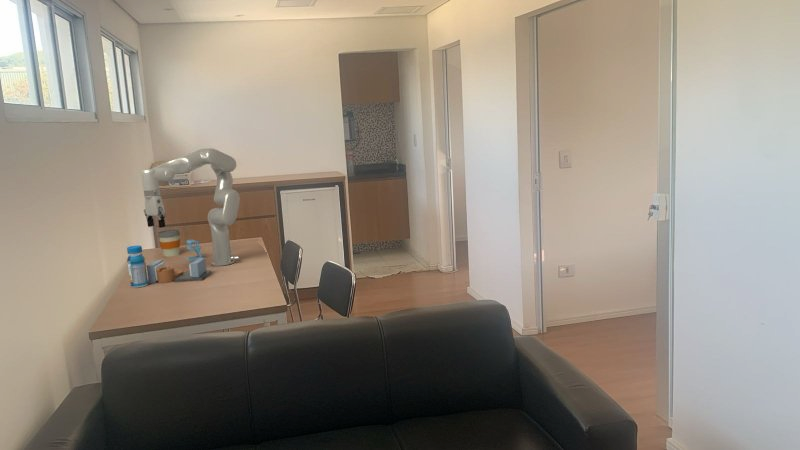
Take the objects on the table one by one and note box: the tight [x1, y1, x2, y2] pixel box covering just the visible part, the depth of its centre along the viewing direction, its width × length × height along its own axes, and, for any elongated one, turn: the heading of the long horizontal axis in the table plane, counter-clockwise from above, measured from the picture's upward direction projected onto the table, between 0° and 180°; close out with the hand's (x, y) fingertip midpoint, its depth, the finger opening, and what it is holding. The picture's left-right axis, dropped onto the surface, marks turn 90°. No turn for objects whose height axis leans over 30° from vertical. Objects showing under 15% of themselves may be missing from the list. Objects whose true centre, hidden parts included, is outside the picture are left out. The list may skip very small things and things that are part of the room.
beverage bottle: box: [126, 244, 149, 289], centre depth 308 cm, size 8×8×20 cm
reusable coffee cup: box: [157, 229, 181, 258], centre depth 384 cm, size 13×13×15 cm
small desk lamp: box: [185, 239, 203, 262], centre depth 367 cm, size 8×8×12 cm
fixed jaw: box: [146, 259, 166, 284], centre depth 320 cm, size 4×13×9 cm, turn 0°
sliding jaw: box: [188, 257, 208, 277], centre depth 320 cm, size 4×13×7 cm, turn 0°
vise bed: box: [174, 269, 212, 283], centre depth 321 cm, size 14×16×2 cm
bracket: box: [156, 266, 184, 285], centre depth 320 cm, size 18×8×7 cm, turn 174°
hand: (156, 226), depth 317 cm, fingers open, 9 cm apart
